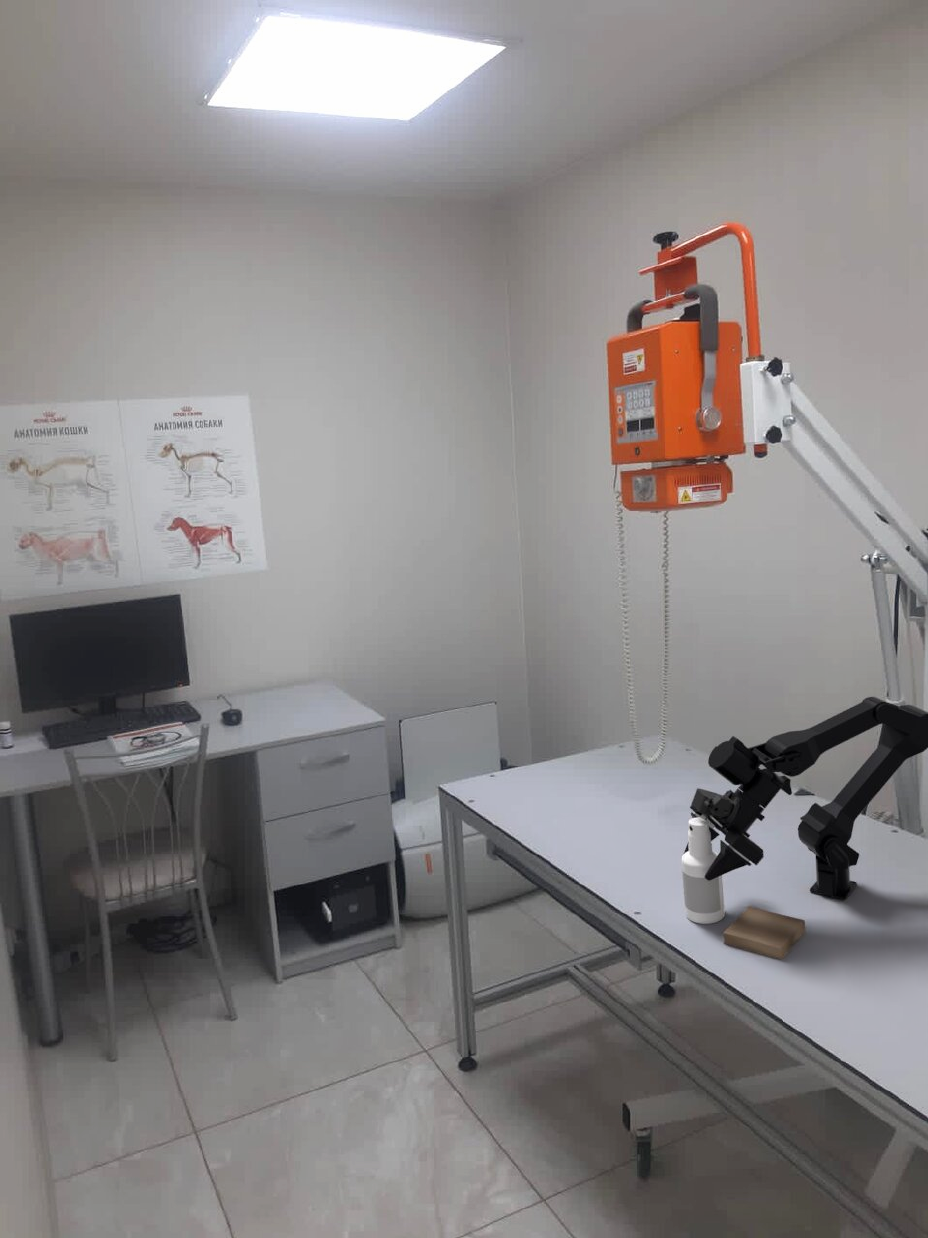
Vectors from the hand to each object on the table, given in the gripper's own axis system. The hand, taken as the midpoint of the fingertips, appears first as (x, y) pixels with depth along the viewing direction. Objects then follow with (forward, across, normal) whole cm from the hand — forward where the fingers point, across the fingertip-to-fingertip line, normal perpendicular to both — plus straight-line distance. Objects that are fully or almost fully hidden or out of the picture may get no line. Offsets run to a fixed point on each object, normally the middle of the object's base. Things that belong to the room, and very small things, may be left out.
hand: (695, 867), depth 173 cm
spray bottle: (+6, 0, +8) cm, 10 cm away
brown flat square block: (+1, +10, +12) cm, 16 cm away
